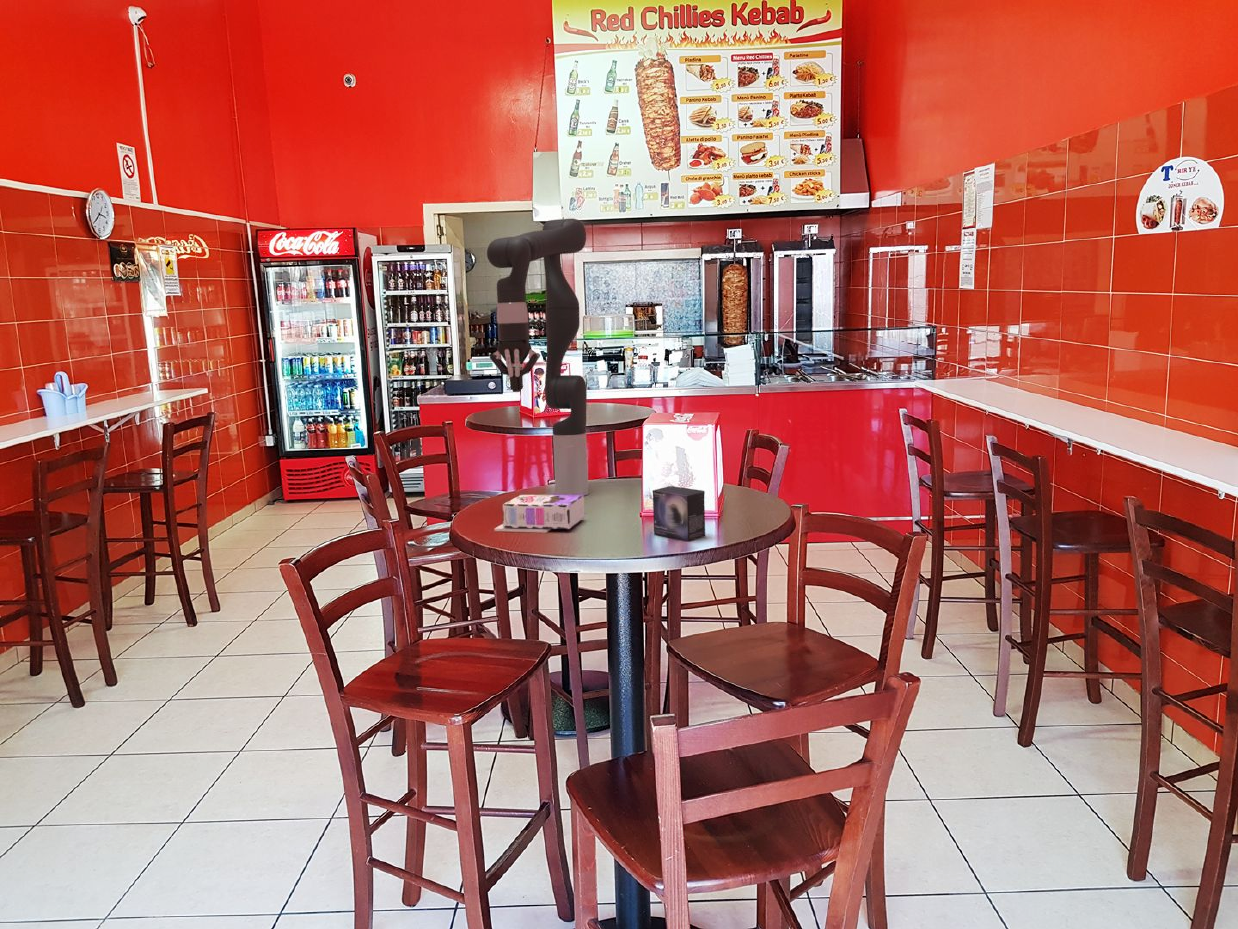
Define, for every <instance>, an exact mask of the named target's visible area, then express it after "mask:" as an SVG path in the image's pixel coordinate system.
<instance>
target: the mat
mask: <svg viewBox="0 0 1238 929" xmlns="http://www.w3.org/2000/svg"><path fill="white" fill-rule="evenodd" d="M551 530H553V529H540V528H504V527H503V523H502V524H500V525H498V526H497V527H494V532H511V533H513V532H514V533H520V532H521V533H545V534H546V533H548V532H550V531H551Z"/></svg>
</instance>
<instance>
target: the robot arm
mask: <svg viewBox="0 0 1238 929" xmlns="http://www.w3.org/2000/svg"><path fill="white" fill-rule="evenodd" d="M586 241H587V231H586V227H585V226H584V223H583V222H582V221H581V220H579V219H576V218H571V217H570V218H560V219H558V218H557V219H551V220H547V221H545V223H544V224H543V226H542V230H534V231H528V232H525V233H522V234H519V235H515V236H506V237H500V238H495V239H494V240H492V241H491V242H490V243H489V244H488V246H487V250H486V258H487V260H488V262H489V263H490V265H492V266H493V267H494V268H498V269H509V268H510V269H511V271H510V274H509V275H508V276H506V277H503V278H500V279H498V280H497V283H496V299H497V300H496V302H497V308H496V314H497V315H496V321H497V334H498V338H497V339H498V346H497V350H496V351H495V352H494V353H493V354H491V355H490V356H489V359H490V360H491V361H492V362H493V364H494V365H495V366H496V368H497V369H498V370H499V371H500V372H501V374H502V375H506V376H508V377H509V386H510V391H511V390H512V392H513V393H520V392H522V390H523V388H524V382H523V380H524V378H523V377H524V376H525V375H527V374H529V373H530V372H531V370H532V369H533V367H534V366H535V365H536V363H537V362H538V360H539V359H540V357H541V354H540V353H539V352H536V351H534V350H533V349H532V346H531V343H530V329H529V313H528V306H527V290H526V286H527V285H526V283H527V279H528V274H529V273H528V272H529V267H530V264H531V262H534V261H536V260H539V259H543V263H544V264H543V265H544V274H545V276H544V279H545V331H546V363H545V376H544V379H545V380H544V382H545V383H544V396H545V397H544V398H545V402H546V405H547V407H548V408H550V409H553V410H570V414H569V416H567V417H566V418H565V419H562V420H560V421H557V422H555V423H553V425H552V443H553V466H554V470H553V471H554V489H555V490H554V492H555V494H554V495H584V497H585V496H587V495H589V474H588V473H589V471H588V451H587V450H588V448H587V447H588V446H587V395H588V394H587V382H586V380H585V378H584V377H583V376H582V375H575V374H574V375H569V374H568V375H562V365H563V361H564V358H565V355H566V353H567V351H568V349H569V347H571V344H572V342H573V341H574V339H575V337H576V336H577V334H578V332H579V329H580V302H579V299H578V297H577V295H576V294H575V291H574V289H573V288H572V286H571V285H570V283H569V282H568V279H566V277H565V274H564V272H563V268H562V261H561V260H562V259H561V255H567V254H569V255H570V254H577V253H578V252H581V251H582V250H583V249H584V247H585V245H586ZM502 358H503V360H504V361H505V363H504V361H503V360H502ZM527 358H528V359H529V360H528V361H527V363H526V364H525V360H526V359H527Z"/></svg>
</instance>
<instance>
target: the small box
mask: <svg viewBox="0 0 1238 929" xmlns="http://www.w3.org/2000/svg"><path fill="white" fill-rule="evenodd" d="M652 508H653V509H652V511H653V535H654V536H658V537H663V538H664V537H665V538H670V539H674V540H678V541H684V542H691V541H694V540H699V539H702V538H704V537H706V513H705V512H706V511H705V490H702V489H695V488H687V487H681V486H673V485H668V486H664V487H661V488H657V489H653V490H652Z"/></svg>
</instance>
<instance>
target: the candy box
mask: <svg viewBox="0 0 1238 929" xmlns="http://www.w3.org/2000/svg"><path fill="white" fill-rule="evenodd" d="M584 497H585V496H584V495H555V494H519V495H518V496H515V497H514V498H512V499H511V500H509V501H506V502H505V503H503V504H502V524H503V527H504V528H540V529H552V530H570V529H571V528H573V527H574V526H575V525H577V524H578V523H579V522H580V521H582V520H583V519H584V518H585V517H586V513H585V511H586V510H585V498H584Z"/></svg>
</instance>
